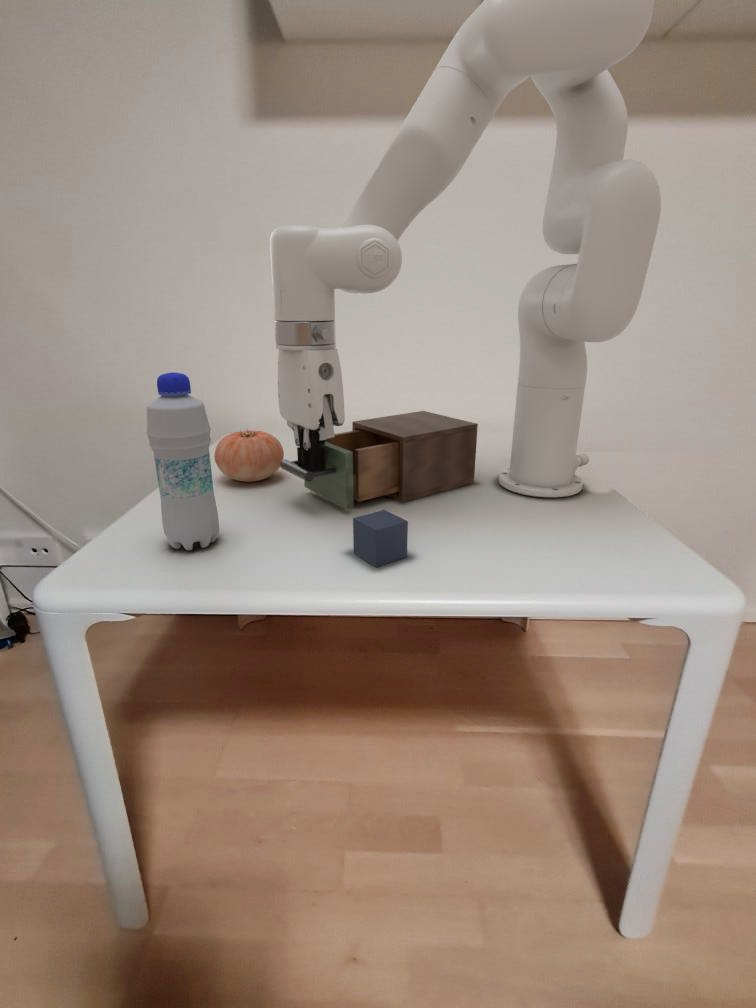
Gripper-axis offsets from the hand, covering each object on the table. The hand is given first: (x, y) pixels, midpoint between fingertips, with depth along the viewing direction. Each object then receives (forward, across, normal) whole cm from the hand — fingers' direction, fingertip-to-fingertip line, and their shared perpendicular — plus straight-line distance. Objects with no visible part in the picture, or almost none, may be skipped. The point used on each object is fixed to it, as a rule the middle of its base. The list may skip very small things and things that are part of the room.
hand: (311, 474), depth 75 cm
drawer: (+4, 0, -6) cm, 7 cm away
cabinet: (+5, 0, -18) cm, 19 cm away
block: (+5, -18, +2) cm, 19 cm away
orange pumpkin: (+5, +17, +2) cm, 18 cm away
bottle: (+5, -2, +18) cm, 18 cm away
